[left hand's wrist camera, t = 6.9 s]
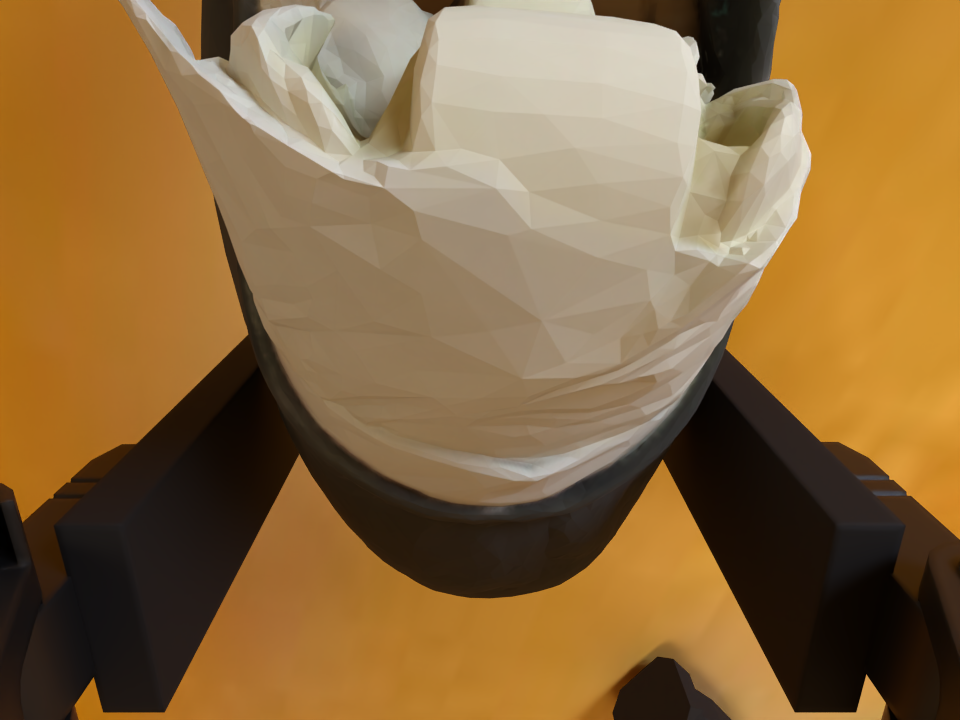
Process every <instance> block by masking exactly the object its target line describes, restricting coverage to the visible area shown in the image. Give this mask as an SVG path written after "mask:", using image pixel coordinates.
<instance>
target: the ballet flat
mask: <svg viewBox="0 0 960 720" xmlns="http://www.w3.org/2000/svg"><path fill="white" fill-rule="evenodd" d="M119 2H120V3H121V4H122V6H123V7H124V9H125V11H126V12H127V14H128V16H129V17H130V19H131V21H132V22H133V24H134V26H135V27H136V29H137V31H138V33H139V34H140V36H141V38H142V39H143V41H144V43H145V44H146V46H147V48H148V50H149V51H150V53H151V55H152V57H153V59H154V61H155V63H156V65H157V67H158V69H159V71H160V73H161V75H162V77H163V79H164V81H165V83H166V85H167V87H168V89H169V91H170V93H171V95H172V97H173V99H174V101H175V103H176V105H177V107H178V110H179V112H180V114H181V117H182V119H183V122H184V124H185V127H186V129H187V131H188V134H189V136H190V139H191V141H192V144H193V146H194V148H195V151H196V153H197V156H198V158H199V161H200V163H201V165H202V168H203V170H204V173H205V175H206V178H207V180H208V182H209V185H210V187H211V190H212V192H213V195H214V201H215V206H216V211H217V216H218V220H219V225H220V229H221V234H222V239H223V243H224V248H225V252H226V256H227V260H228V263H229V267H230V270H231V274H232V278H233V281H234V285H235V288H236V292H237V295H238V299H239V302H240V306H241V309H242V313H243V317H244V320H245V323H246V326H247V329H248V334H249V338H250V341H251V344H252V347H253V351H254V354H255V357H256V360H257V363H258V365H259V368H260V370H261V372H262V375H263V377H264V379H265V381H266V383H267V385H268V388H269V389H270V391H271V393H272V395H273V396H274V398H275V400H276V402H277V406H278V409H279V413H280V416H281V418H282V420H283V422H284V425H285V427H286V429H287V431H288V433H289V435H290V437H291V439H292V442H293V443H294V445H295V447H296V449H297V450H298V452H299V454H300V456H301V458H302V459H303V461H304V463H305V465H306V466H307V468H308V470H309V472H310V474H311V475H312V477H313V478H314V480H315V481H316V482H317V484H318V485H319V487H320V488H321V490H322V491H323V492H324V494H325V495H326V497H327V498H328V500H329V501H330V503H331V504H332V506H333V507H334V509H335V510H336V511H337V512H338V514H339V515H340V516H341V518H342V519H343V520H344V521H345V523H346V524H347V525H348V526H349V527H350V528H351V529H352V530H353V531H354V532H355V533H356V535H357V536H358V537H359V538H360V539H361V540H362V541H363V542H364V543H365V544H366V546H367V547H368V548H369V549H370V550H372V551H373V552H374V553H375V554H376V555H377V556H378V557H380V558H381V559H382V560H383V561H384V562H386V563H387V564H389V565H390V566H391V567H393V568H394V569H396V570H397V571H399V572H401V573H403V574H405V575H407V576H408V577H410V578H411V579H413V580H414V581H416V582H418V583H419V584H421V585H423V586H426V587H428V588H430V589H432V590H435V591H438V592H443V593H447V594H452V595H456V596H462V597H469V598H499V597H512V596H517V595H523V594H528V593H533V592H538V591H541V590H545V589H548V588H551V587H554V586H557V585H560V584H562V583H563V582H565V581H567V580H568V579H570V578H572V577H573V576H575V575H576V574H578V573H579V572H581V571H582V570H584V569H585V568H586V567H587V566H589V565H590V564H591V563H592V562H593V561H594V560H595V558H596V557H597V556H598V555H599V554H600V553H601V552H602V551H603V550H604V548H605V547H606V546H607V544H608V543H609V542H610V541H611V539H612V538H613V537H614V536H615V534H616V532H617V531H618V529H619V528H620V526H621V525H622V523H623V522H624V520H625V519H626V517H627V516H628V514H629V512H630V511H631V509H632V508H633V506H634V505H635V503H636V502H637V500H638V499H639V497H640V495H641V494H642V492H643V490H644V489H645V487H646V485H647V483H648V482H649V480H650V479H651V477H652V476H653V474H654V473H655V471H656V469H657V468H658V466H659V464H660V463H661V461H662V459H663V458H664V457H665V455H666V454H667V452H668V451H669V449H670V447H671V445H672V443H673V441H674V439H675V438H676V437H677V436H678V434H679V433H680V432H681V431H682V429H683V428H684V427H685V426H686V425H687V423H688V422H689V420H690V419H691V417H692V416H693V414H694V413H695V412H696V410H697V408H698V406H699V404H700V403H701V401H702V399H703V397H704V395H705V393H706V391H707V389H708V387H709V385H710V383H711V381H712V379H713V377H714V374H715V372H716V370H717V368H718V365H719V363H720V361H721V359H722V356H723V354H724V351H725V348H726V345H727V342H728V338H729V335H730V332H731V329H732V325H733V322H734V319H735V318H736V317H737V315H738V314H739V313H740V312H741V311H742V309H743V308H744V307H745V306H746V305H747V303H748V301H749V299H750V297H751V295H752V293H753V292H754V290H755V288H756V286H757V284H758V282H759V280H760V277H761V275H762V273H763V270H764V268H765V267H766V266H767V264H768V262H769V261H770V259H771V258H772V256H773V255H774V253H775V251H776V250H777V248H778V247H779V245H780V243H781V242H782V240H783V239H784V237H785V235H786V234H787V232H788V230H789V229H790V227H791V226H792V225H793V223H794V222H795V220H796V219H797V215H798V208H799V201H800V194H801V191H802V189H803V186H804V184H805V181H806V179H807V177H808V174H809V172H810V169H811V153H810V150H809V148H808V145H807V143H806V141H805V138H804V136H803V133H802V131H801V128H802V109H801V105H800V101H799V97H798V93H797V90H796V88H795V87H794V85H793V84H792V83H790V82H789V81H788V80H785V79H772V80H769V78H770V74H771V67H772V56H773V46H774V40H775V35H776V29H777V24H778V19H779V5H780V2H781V0H202V20H201V60H195V58H194V55H193V53H192V50H191V48H190V47H189V45H188V43H187V42H186V40H185V39H184V37H183V36H182V34H181V32H180V31H179V29H178V28H177V26H176V25H175V24H174V23H173V22H172V21H171V20H169V19H168V18H166V17H165V16H163V15H162V13H161V12H160V11H159V10H158V9H157V8H156V7H155V5H154V4H153V3H152V2H151V1H150V0H119Z"/></svg>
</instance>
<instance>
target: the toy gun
mask: <svg viewBox="0 0 960 720" xmlns="http://www.w3.org/2000/svg"><path fill="white" fill-rule="evenodd" d="M613 717H614V720H731V719H730V718H729V717H728V716H727V715H726V714H725V713H724V712H723V711H722V710H721V709H720V708H719V707H718V706H717V705H716V704H715V703H714V702H713V701H712V700H711V699H710V698H708V697H707V696H705V695H704V694H702V693H701V692H699V691H697V690H696V689H695V688H694V685H693V682H692V680H691V677H690V675H689V673H688V672H687V671H686V670H684V669H683V668H682V667H681V666H680V665H679V664H678V663H677V662H676V661H675V660H674V659H669V658H663V657H657V658H655V659H654V660H653V661H652V662H651V663H650V664H649V665H648V666H646V667H645V668H644V669H643V670H642V671H641V672H640V673H639V674H637V675H636V676H635V677H634V678H633V679H632V680H631V681H630V682H628V683H627V684H626V685H625V686H624V687H623V688H622V689H621V690H620V692H619V695H618V698H617V701H616V704H615V707H614V710H613Z"/></svg>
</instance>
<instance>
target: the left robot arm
mask: <svg viewBox="0 0 960 720" xmlns="http://www.w3.org/2000/svg"><path fill="white" fill-rule="evenodd" d="M298 455H299V452H298V450H297V449H296V447H295V445H294V443H293V442H292V439H291V437H290V435H289V433H288V431H287V429H286V427H285V425H284V422H283V420H282V418H281V416H280V413H279V409H278V406H277V402H276V400H275V398H274V396H273V395H272V393H271V391H270V389H269V388H268V385H267V383H266V381H265V379H264V377H263V375H262V372H261V370H260V368H259V365H258V363H257V360H256V357H255V354H254V351H253V347H252V344H251V341H250V338H249V335H248V336H246V337H245V338H244V339H243V340H242V341H241V342H240V343H239V344H238V345H237V346H236V347H235V348H234V349H233V350H232V351H231V352H230V353H229V354H228V355H227V356H226V357H225V358H224V359H223V360H222V361H221V362H220V363H219V364H218V365H217V366H216V367H215V368H214V369H213V370H212V371H211V372H210V373H209V374H208V375H207V376H206V377H205V378H204V379H203V380H202V381H201V382H200V383H198V384H197V385H196V386H195V387H194V388H193V389H192V390H191V391H190V392H189V393H188V394H187V395H186V396H185V397H184V398H183V399H182V400H181V401H180V402H179V403H178V404H177V405H176V406H175V407H174V408H173V409H172V410H171V411H170V412H169V413H168V414H167V415H166V416H165V417H164V418H163V419H162V420H161V421H160V422H159V423H158V424H157V425H156V426H155V427H154V428H153V429H152V430H150V431H149V432H148V433H147V434H146V435H145V436H144V437H143V438H142V439H141V440H140V441H139V442H138V443H137V444H122V445H120V446H118V447H116V448H114V449H112V450H110V451H108V452H106V453H104V454H103V455H101V456H99V457H97V458H95V459H93V460H91V461H90V462H89V463H88V464H87V465H86V466H85V467H84V468H82V469H81V470H80V471H79V472H78V473H77V474H76V475H75V476H74V477H72V478H71V483H66V484H65V485H64V486H63V487H61V488H60V489H59V490H58V491H57V492H56V493H55V494H54V498H53V499H48V500H47V501H46V502H45V503H44V504H43V505H42V506H41V507H39V508H38V509H37V510H36V511H35V512H34V513H33V514H32V515H31V516H29V517H28V518H27V519H26V520H25V521H24V522H23V523H22V520H21V517H20V513H19V510H18V506H17V503H16V499H15V496H14V492H13V490H12V489H10V488H9V487H7V486H6V485H4V484H2V483H0V720H79V719H78V716H77V712H76V709H75V704H76V702H77V701H78V699H79V698H80V696H81V695H82V693H83V692H84V690H85V689H86V687H87V686H88V684H89V683H90V681H91V680H92V679H93V677H94V679H95V683H96V687H97V691H98V694H99V698H100V702H101V706H102V709H103V712H165V711H166V709H167V707H168V705H169V703H170V701H171V699H172V697H173V695H174V693H175V691H176V689H177V688H178V686H179V684H180V682H181V680H182V678H183V676H184V674H185V672H186V670H187V668H188V666H189V665H190V663H191V661H192V659H193V657H194V655H195V653H196V651H197V649H198V647H199V645H200V643H201V642H202V640H203V638H204V636H205V634H206V632H207V630H208V628H209V626H210V624H211V622H212V620H213V619H214V617H215V615H216V613H217V611H218V609H219V607H220V605H221V603H222V601H223V599H224V597H225V595H226V594H227V592H228V590H229V588H230V586H231V584H232V582H233V580H234V578H235V576H236V574H237V572H238V571H239V569H240V567H241V565H242V563H243V561H244V559H245V557H246V555H247V553H248V551H249V549H250V548H251V546H252V544H253V542H254V540H255V538H256V536H257V534H258V532H259V530H260V528H261V526H262V524H263V523H264V521H265V519H266V517H267V515H268V513H269V511H270V509H271V507H272V505H273V503H274V501H275V500H276V498H277V496H278V494H279V492H280V490H281V488H282V486H283V484H284V482H285V480H286V478H287V477H288V475H289V473H290V471H291V469H292V467H293V465H294V463H295V461H296V459H297V457H298ZM663 460H664V462H665V464H666V466H667V468H668V470H669V472H670V474H671V476H672V477H673V479H674V481H675V483H676V485H677V487H678V489H679V491H680V493H681V495H682V497H683V499H684V500H685V502H686V504H687V506H688V508H689V510H690V512H691V514H692V516H693V518H694V520H695V522H696V524H697V525H698V527H699V529H700V531H701V533H702V535H703V537H704V539H705V541H706V543H707V545H708V547H709V548H710V550H711V552H712V554H713V556H714V558H715V560H716V562H717V564H718V566H719V568H720V570H721V571H722V573H723V575H724V577H725V579H726V581H727V583H728V585H729V587H730V589H731V591H732V593H733V595H734V596H735V598H736V600H737V602H738V604H739V606H740V608H741V610H742V612H743V614H744V616H745V618H746V619H747V621H748V623H749V625H750V627H751V629H752V631H753V633H754V635H755V637H756V639H757V641H758V643H759V644H760V646H761V648H762V650H763V652H764V654H765V656H766V658H767V660H768V662H769V664H770V666H771V667H772V669H773V671H774V673H775V675H776V677H777V679H778V681H779V683H780V685H781V687H782V689H783V690H784V692H785V694H786V696H787V698H788V700H789V702H790V704H791V706H792V708H793V710H794V712H856V711H857V707H858V703H859V700H860V696H861V692H862V688H863V685H864V681H865V677H866V674H867V676H868V677H869V679H870V680H871V682H872V683H873V684H874V686H875V687H876V689H877V690H878V692H879V693H880V695H881V696H882V698H883V699H884V701H885V702H886V705H885V709H884V712H883V716H882V719H881V720H960V540H959V539H958V538H957V537H956V536H955V535H954V534H953V533H951V532H950V531H949V530H948V529H947V528H946V527H945V526H944V525H943V524H941V523H940V522H939V521H938V520H937V519H936V518H935V517H934V516H933V515H931V514H930V513H929V512H928V511H927V510H926V509H925V508H924V507H923V506H921V505H920V504H919V503H918V502H917V501H916V500H915V499H914V498H913V497H911V496H907V495H906V491H905V490H904V489H903V488H901V487H900V486H899V485H898V484H897V483H896V482H895V481H894V480H889V476H888V475H887V474H886V473H885V472H884V471H883V470H881V469H880V468H879V467H878V466H877V465H876V464H875V463H874V462H873V461H871V460H870V459H869V458H868V457H866V456H864V455H862V454H860V453H858V452H856V451H854V450H852V449H850V448H849V447H847V446H845V445H843V444H841V443H839V442H820V441H819V440H818V439H817V438H816V437H815V436H814V435H813V434H812V433H811V432H810V431H809V430H808V429H807V428H806V427H805V426H804V425H803V424H802V423H801V422H800V421H799V420H798V419H797V418H796V417H795V416H794V415H793V414H792V413H791V412H790V411H789V410H788V409H786V408H785V407H784V406H783V405H782V404H781V403H780V402H779V401H778V400H777V399H776V398H775V397H774V396H773V395H772V394H771V393H770V392H769V391H768V390H767V389H766V388H765V387H764V386H763V385H762V384H761V383H760V382H759V381H758V380H757V379H756V378H755V377H754V376H753V375H752V374H751V373H750V372H749V371H748V370H747V369H746V368H745V367H744V366H743V365H742V364H741V363H740V362H739V361H737V360H736V359H735V358H734V357H733V356H732V355H731V354H730V353H729V352H728V351H727V350H726V349H725V351H724V354H723V356H722V359H721V361H720V363H719V365H718V368H717V370H716V372H715V374H714V377H713V379H712V381H711V383H710V385H709V387H708V389H707V391H706V393H705V395H704V397H703V399H702V401H701V403H700V404H699V406H698V408H697V410H696V412H695V413H694V414H693V416H692V417H691V419H690V420H689V422H688V423H687V425H686V426H685V427H684V428H683V429H682V431H681V432H680V433H679V434H678V436H677V437H676V438H675V439H674V441H673V443H672V445H671V447H670V449H669V451H668V452H667V454H666V455H665V457H664V458H663Z"/></svg>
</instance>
